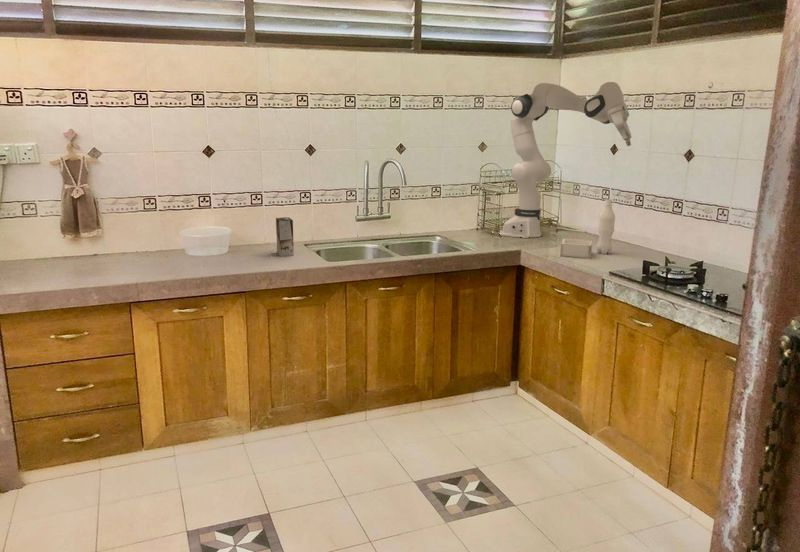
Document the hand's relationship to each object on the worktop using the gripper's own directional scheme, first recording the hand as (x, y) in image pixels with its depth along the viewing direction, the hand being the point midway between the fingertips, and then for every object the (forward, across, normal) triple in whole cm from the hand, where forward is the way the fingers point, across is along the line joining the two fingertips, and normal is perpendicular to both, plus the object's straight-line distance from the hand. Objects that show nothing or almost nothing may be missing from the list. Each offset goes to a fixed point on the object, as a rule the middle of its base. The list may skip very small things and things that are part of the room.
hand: (627, 142), depth 287 cm
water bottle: (+42, -14, -26) cm, 51 cm away
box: (+41, -4, -36) cm, 55 cm away
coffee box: (+16, +66, -146) cm, 161 cm away
